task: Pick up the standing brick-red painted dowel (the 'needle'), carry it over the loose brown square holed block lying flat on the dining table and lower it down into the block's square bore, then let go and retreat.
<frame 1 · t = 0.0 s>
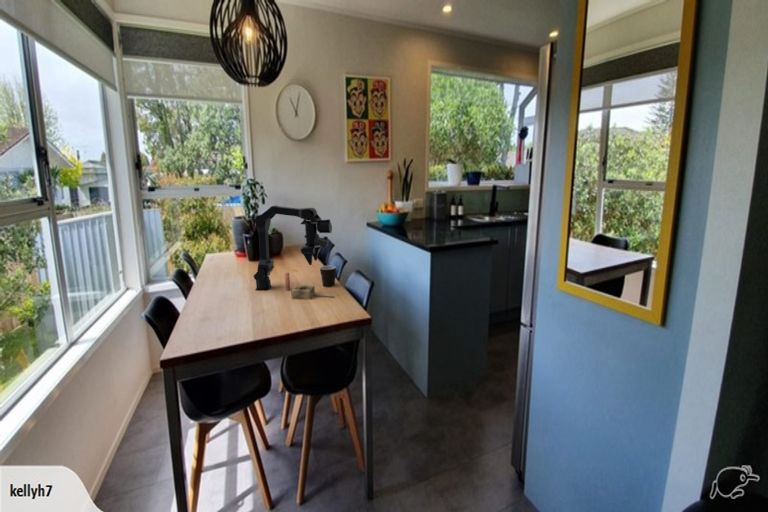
hand: (313, 262, 190), 15 cm above the table, fingers open, 9 cm apart
needle dowel: (288, 289, 195), on the table
coffee mug: (329, 284, 202), on the table
brown square holed block: (303, 295, 185), on the table
blue gray square bar: (323, 296, 183), on the table
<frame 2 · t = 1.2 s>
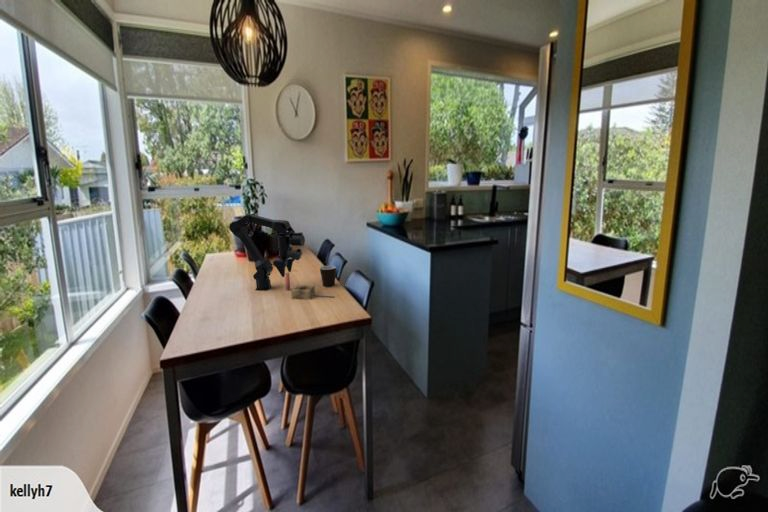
hand: (286, 274, 193), 8 cm above the table, fingers open, 9 cm apart
nothing on the table moved.
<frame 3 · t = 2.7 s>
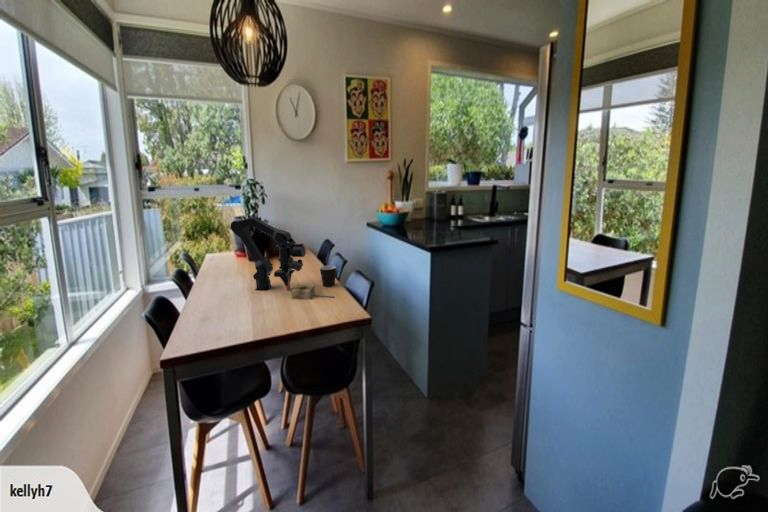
hand: (287, 285, 194), 3 cm above the table, fingers closed on needle dowel, 2 cm apart
needle dowel: (288, 289, 195), on the table, touching gripper
everything else where it was.
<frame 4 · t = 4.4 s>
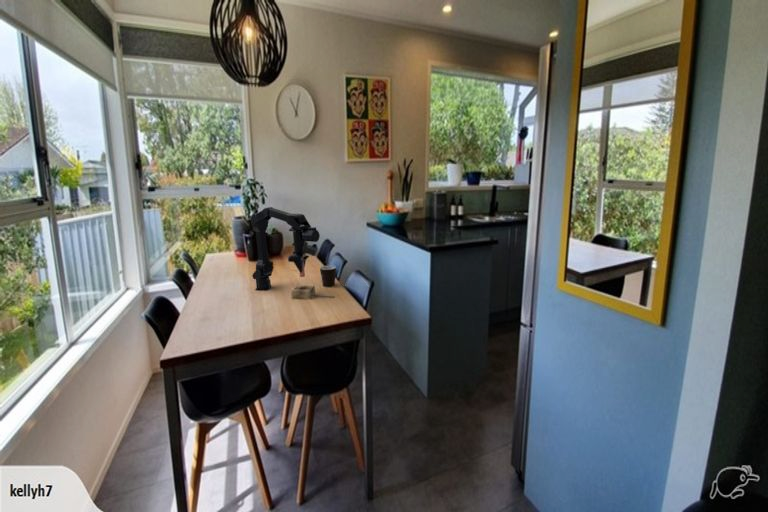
hand: (301, 271, 182), 13 cm above the table, fingers closed on needle dowel, 2 cm apart
needle dowel: (302, 276, 182), point 10 cm above the table, touching gripper
everything else where it was.
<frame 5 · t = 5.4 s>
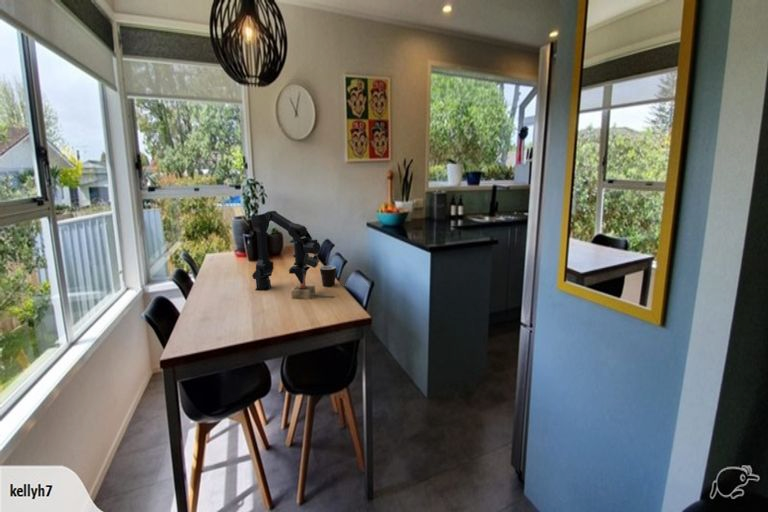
hand: (302, 282, 183), 7 cm above the table, fingers closed on needle dowel, 2 cm apart
needle dowel: (303, 287, 184), point 5 cm above the table, touching gripper
everything else where it was.
when the fingers open (5 cm above the table, at t = 6.1 s): needle dowel drops 2 cm, resting in brown square holed block.
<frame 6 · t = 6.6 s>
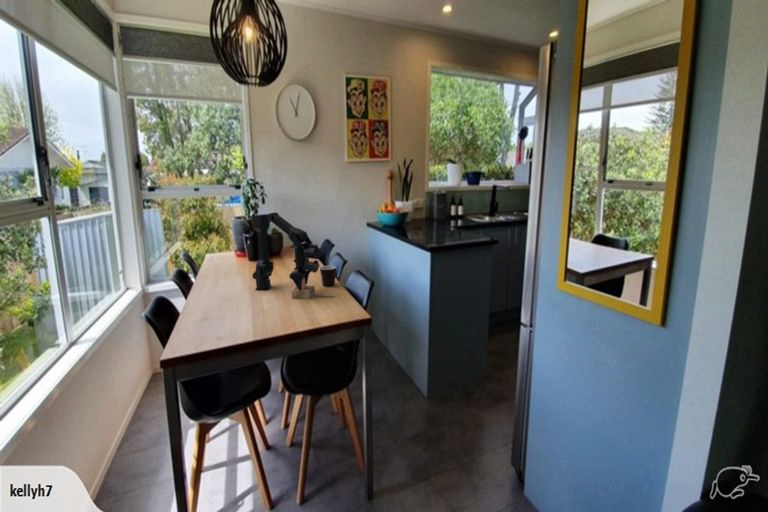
hand: (303, 287, 184), 5 cm above the table, fingers open, 8 cm apart
needle dowel: (303, 295, 185), resting in brown square holed block
everything else where it was.
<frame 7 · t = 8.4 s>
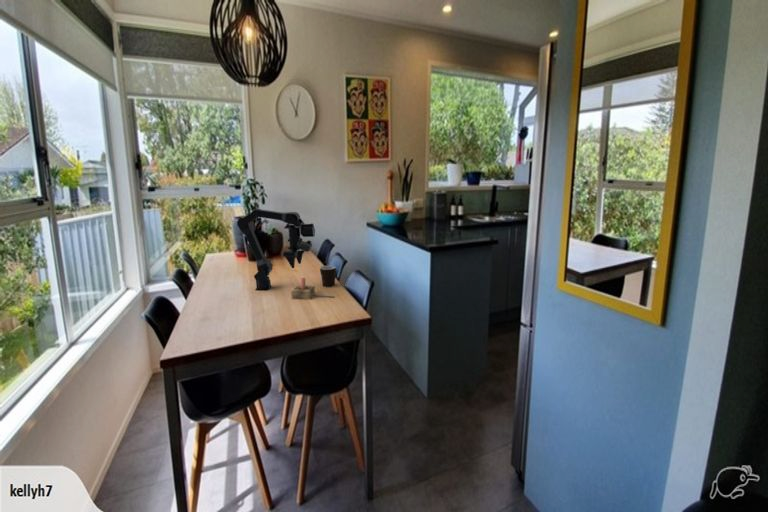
hand: (296, 265, 194), 12 cm above the table, fingers open, 9 cm apart
nothing on the table moved.
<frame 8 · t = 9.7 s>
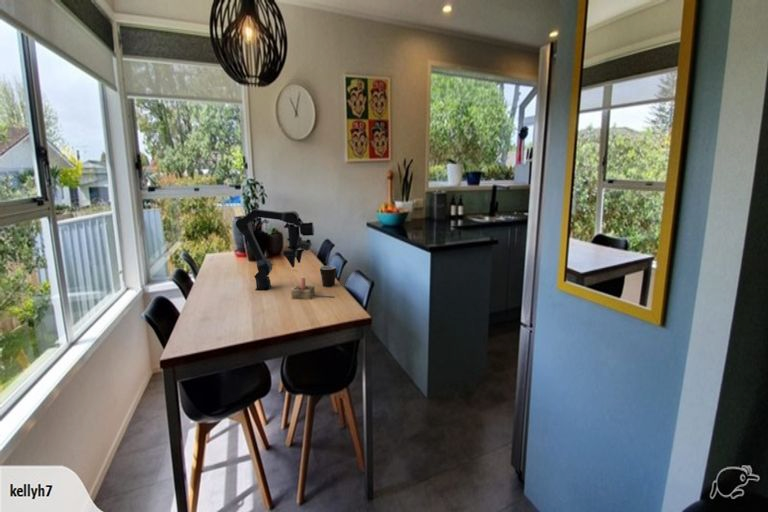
hand: (296, 264, 195), 13 cm above the table, fingers open, 9 cm apart
nothing on the table moved.
at the end: needle dowel 0.0 cm off-centre on the brown square holed block, point 0.0 cm above the brown square holed block's base; needle dowel tilted 0°; the gripper is holding nothing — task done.
